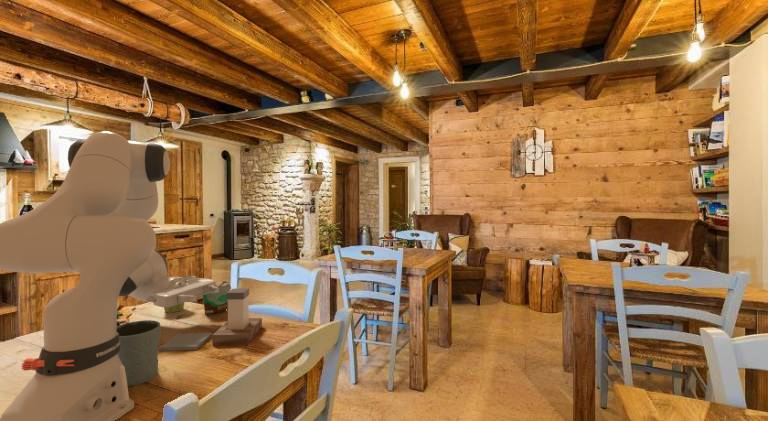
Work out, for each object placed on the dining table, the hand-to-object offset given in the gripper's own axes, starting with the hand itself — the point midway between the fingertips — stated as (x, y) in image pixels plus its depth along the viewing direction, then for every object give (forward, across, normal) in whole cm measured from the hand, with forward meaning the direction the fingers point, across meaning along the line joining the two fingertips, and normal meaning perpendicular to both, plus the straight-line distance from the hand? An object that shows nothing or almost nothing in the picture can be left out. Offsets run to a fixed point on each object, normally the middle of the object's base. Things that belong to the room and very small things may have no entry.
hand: (206, 294), depth 114 cm
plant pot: (-28, +13, +12) cm, 33 cm away
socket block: (+12, 0, +12) cm, 17 cm away
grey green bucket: (+7, -29, +11) cm, 32 cm away
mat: (+2, -10, +12) cm, 15 cm away
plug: (+12, 0, +12) cm, 17 cm away
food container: (-10, +17, +12) cm, 23 cm away
